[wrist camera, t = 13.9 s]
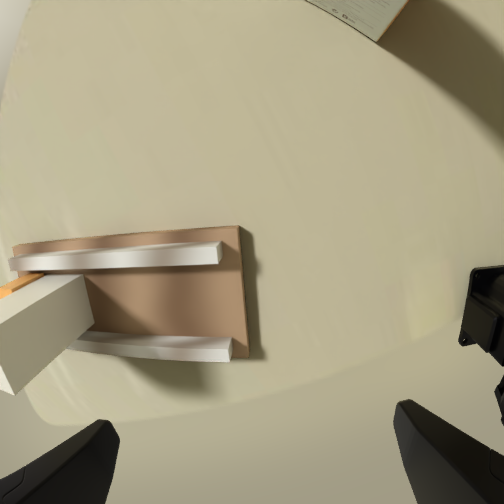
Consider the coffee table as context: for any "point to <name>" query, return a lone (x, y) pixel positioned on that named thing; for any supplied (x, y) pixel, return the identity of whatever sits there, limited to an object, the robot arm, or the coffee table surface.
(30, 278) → the block
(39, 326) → the block
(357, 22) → the small box
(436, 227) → the coffee table surface
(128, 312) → the rail board
